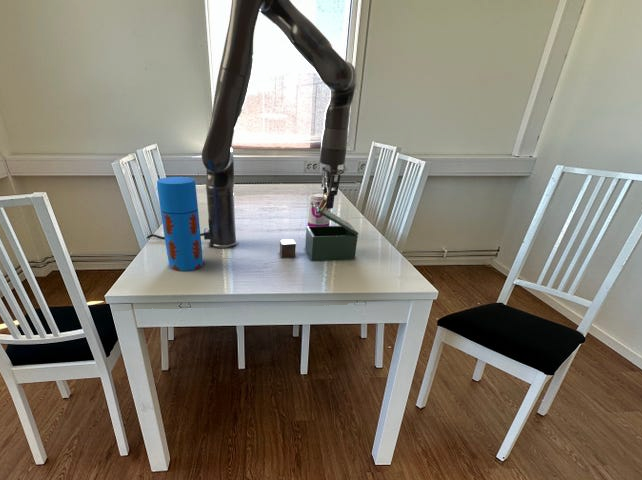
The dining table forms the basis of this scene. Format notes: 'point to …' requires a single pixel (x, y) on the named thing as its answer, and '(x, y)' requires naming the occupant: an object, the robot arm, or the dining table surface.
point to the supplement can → (313, 215)
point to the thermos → (180, 222)
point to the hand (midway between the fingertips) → (327, 205)
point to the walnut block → (287, 248)
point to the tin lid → (332, 215)
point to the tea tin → (330, 243)
